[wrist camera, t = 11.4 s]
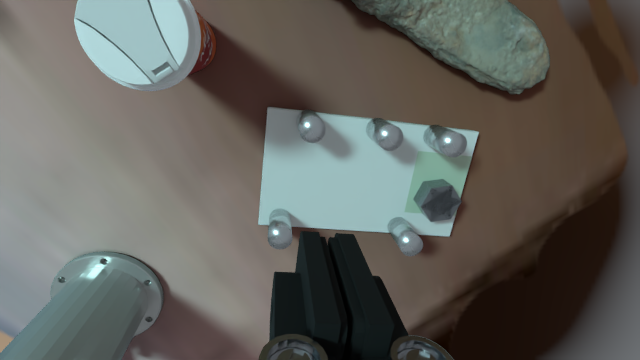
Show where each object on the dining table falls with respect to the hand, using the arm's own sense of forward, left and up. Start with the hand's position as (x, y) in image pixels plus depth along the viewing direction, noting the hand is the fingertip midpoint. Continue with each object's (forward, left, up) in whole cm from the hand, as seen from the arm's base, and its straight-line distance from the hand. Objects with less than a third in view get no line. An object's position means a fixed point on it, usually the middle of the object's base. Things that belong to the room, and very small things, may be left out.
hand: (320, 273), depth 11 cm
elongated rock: (+15, -12, -30) cm, 35 cm away
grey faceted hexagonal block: (-7, -19, -28) cm, 34 cm away
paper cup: (+7, +11, -29) cm, 32 cm away
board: (-5, -10, -29) cm, 31 cm away
